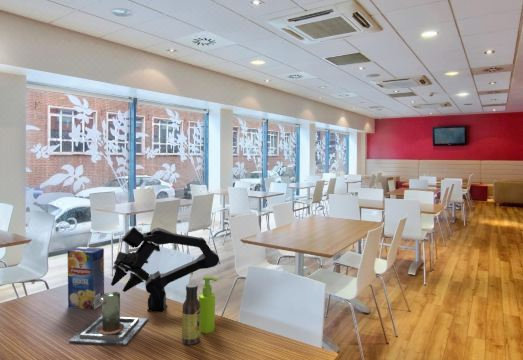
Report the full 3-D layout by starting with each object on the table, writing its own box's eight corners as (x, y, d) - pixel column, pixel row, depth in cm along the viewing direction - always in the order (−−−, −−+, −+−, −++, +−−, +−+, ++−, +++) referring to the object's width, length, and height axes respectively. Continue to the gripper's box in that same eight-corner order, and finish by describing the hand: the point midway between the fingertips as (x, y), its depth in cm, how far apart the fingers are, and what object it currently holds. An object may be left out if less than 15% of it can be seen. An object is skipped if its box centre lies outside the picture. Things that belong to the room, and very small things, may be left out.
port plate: (147, 320, 147) (147, 315, 147) (125, 346, 127) (125, 341, 127) (98, 317, 148) (98, 313, 148) (69, 342, 128) (68, 337, 128)
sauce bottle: (200, 344, 129) (201, 288, 128) (182, 346, 128) (182, 289, 126) (199, 335, 135) (200, 281, 134) (181, 337, 134) (182, 282, 132)
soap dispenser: (214, 334, 136) (215, 280, 135) (196, 332, 138) (196, 279, 136) (219, 327, 142) (220, 275, 141) (202, 325, 144) (202, 274, 142)
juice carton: (104, 302, 162) (104, 248, 161) (93, 309, 155) (93, 252, 153) (79, 300, 165) (79, 246, 163) (68, 307, 157) (67, 250, 156)
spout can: (112, 322, 142) (112, 290, 141) (123, 326, 139) (123, 293, 138) (94, 331, 135) (94, 297, 134) (105, 335, 132) (105, 300, 131)
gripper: (117, 239, 155) (91, 272, 147) (141, 248, 142) (114, 284, 135) (135, 254, 161) (111, 285, 154) (160, 263, 149) (135, 298, 142)
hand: (117, 288), depth 146 cm, fingers open, 9 cm apart
